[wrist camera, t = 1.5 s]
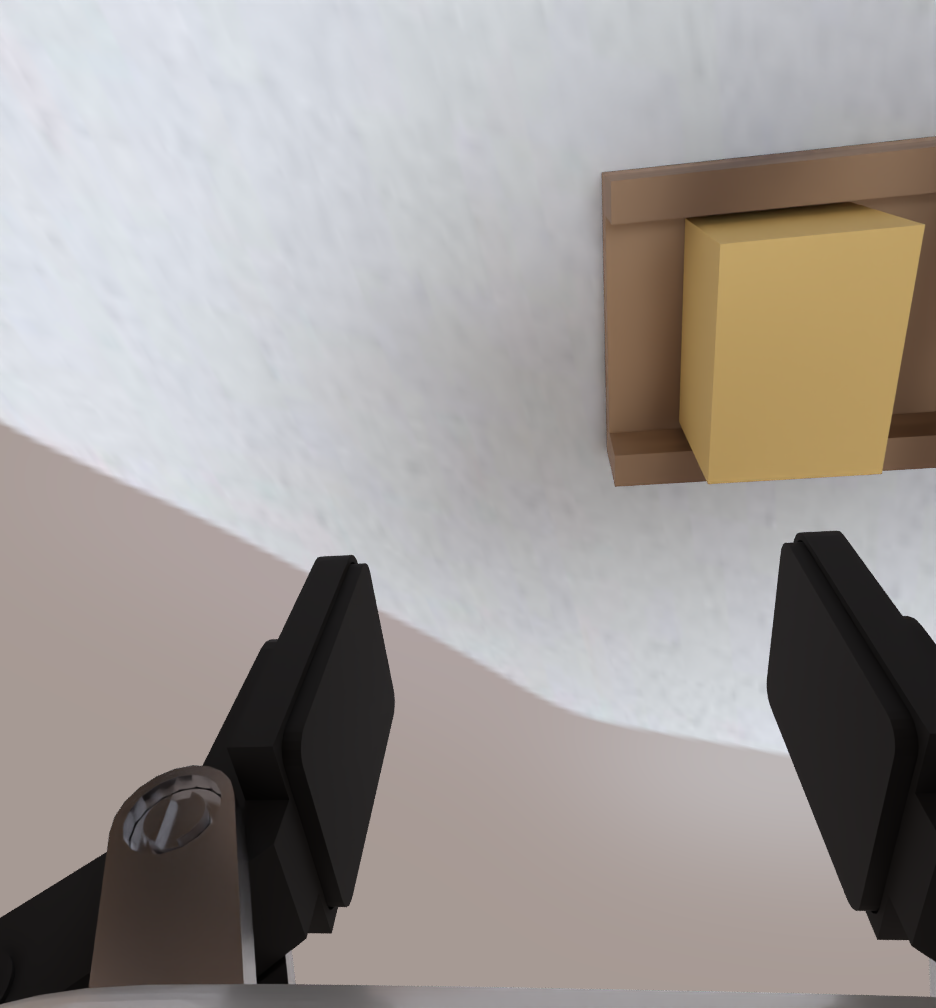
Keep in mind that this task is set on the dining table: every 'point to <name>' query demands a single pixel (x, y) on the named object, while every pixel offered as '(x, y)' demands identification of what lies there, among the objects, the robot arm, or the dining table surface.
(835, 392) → the block
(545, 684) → the dining table surface
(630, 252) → the wooden tray
